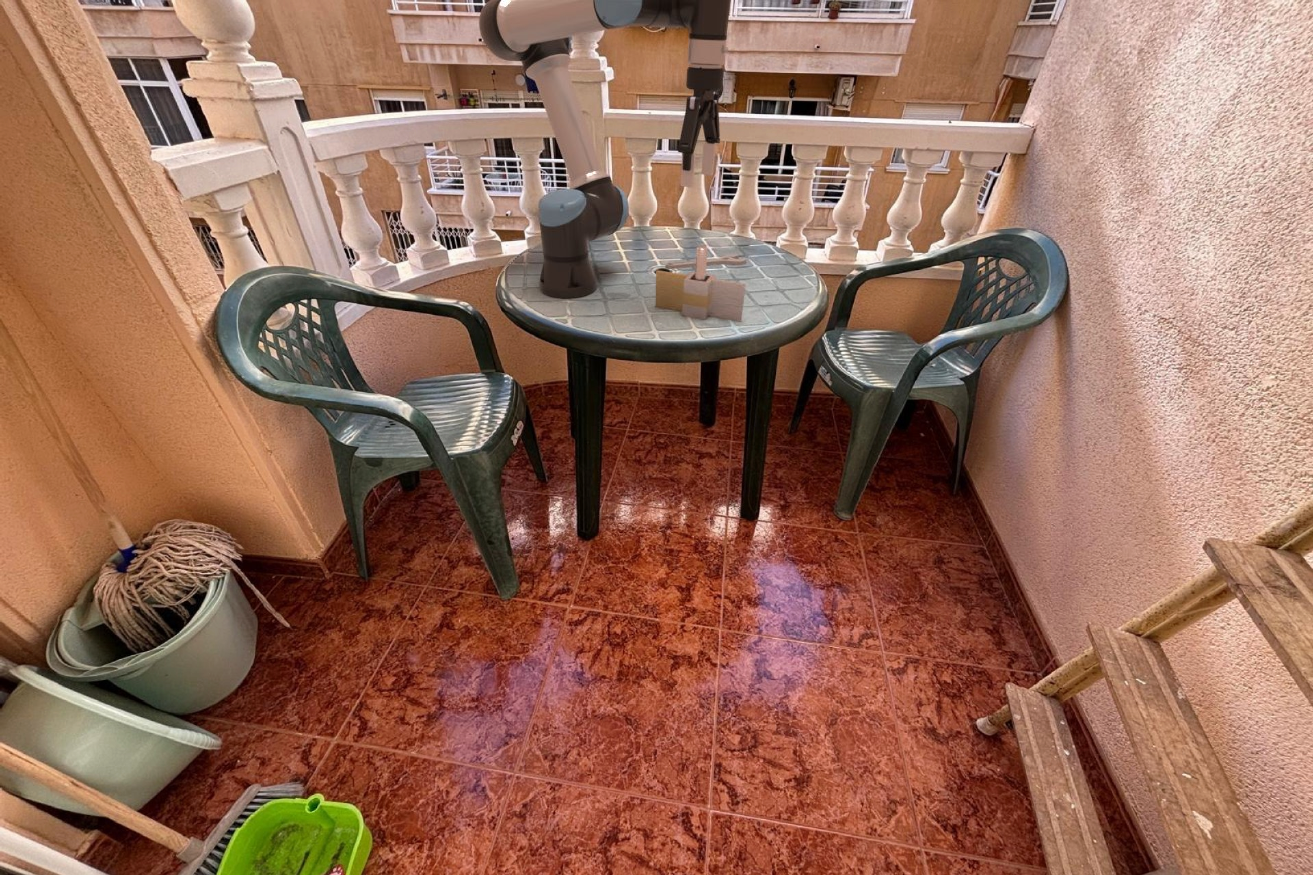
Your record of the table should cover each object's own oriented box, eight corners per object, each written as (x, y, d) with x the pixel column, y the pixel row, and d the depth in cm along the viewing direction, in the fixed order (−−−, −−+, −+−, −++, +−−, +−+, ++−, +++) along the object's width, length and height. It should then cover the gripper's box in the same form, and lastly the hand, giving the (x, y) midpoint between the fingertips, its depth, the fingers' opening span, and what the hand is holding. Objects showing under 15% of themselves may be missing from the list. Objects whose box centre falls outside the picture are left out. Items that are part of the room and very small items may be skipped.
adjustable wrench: (666, 271, 156) (666, 265, 155) (662, 263, 161) (662, 258, 160) (747, 266, 160) (748, 260, 159) (740, 259, 165) (740, 253, 164)
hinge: (651, 310, 132) (652, 275, 127) (660, 301, 137) (661, 267, 131) (737, 325, 126) (742, 289, 121) (743, 315, 131) (748, 280, 125)
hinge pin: (691, 314, 131) (695, 248, 121) (694, 310, 133) (698, 245, 123) (700, 315, 130) (705, 250, 121) (703, 312, 132) (708, 247, 123)
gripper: (703, 70, 97) (694, 194, 110) (740, 65, 115) (729, 172, 128) (665, 67, 99) (660, 189, 112) (708, 63, 118) (700, 168, 131)
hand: (697, 180), depth 120 cm, fingers open, 13 cm apart
